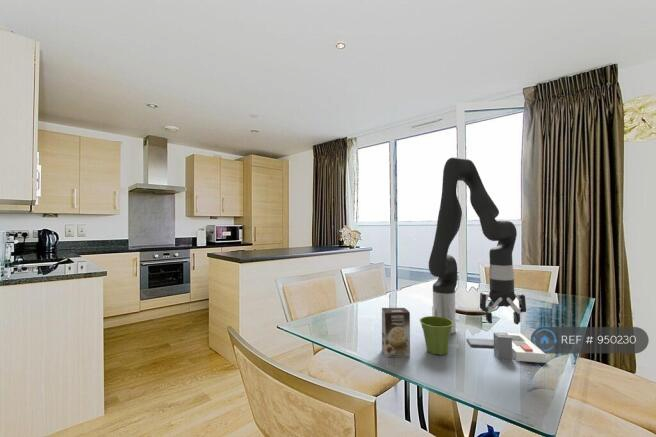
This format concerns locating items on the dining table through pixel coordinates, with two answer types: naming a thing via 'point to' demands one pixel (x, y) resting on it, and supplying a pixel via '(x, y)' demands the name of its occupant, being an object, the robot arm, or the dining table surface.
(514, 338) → the power strip
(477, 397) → the dining table surface
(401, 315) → the coffee box
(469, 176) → the robot arm
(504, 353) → the block
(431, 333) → the plant pot
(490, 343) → the phone
